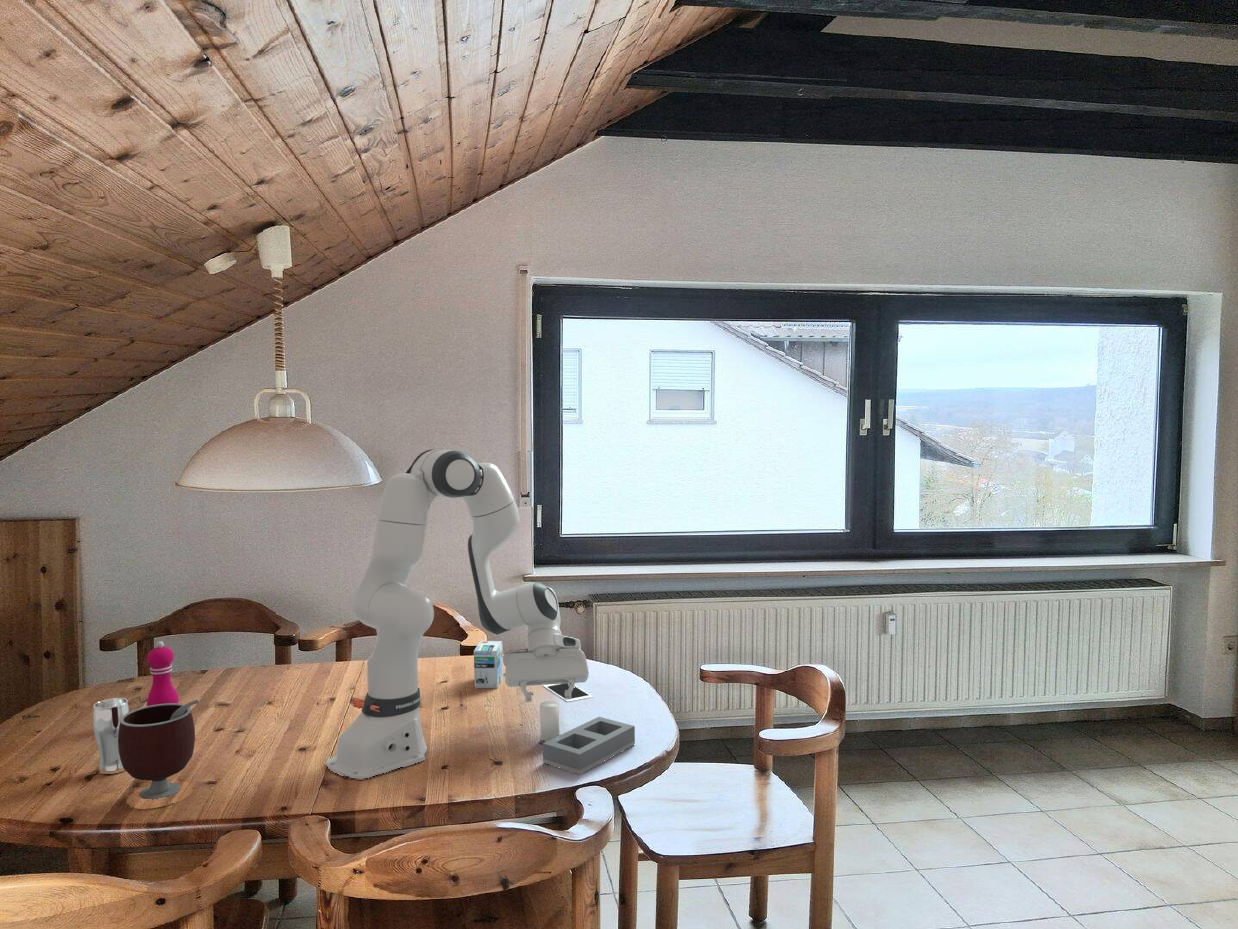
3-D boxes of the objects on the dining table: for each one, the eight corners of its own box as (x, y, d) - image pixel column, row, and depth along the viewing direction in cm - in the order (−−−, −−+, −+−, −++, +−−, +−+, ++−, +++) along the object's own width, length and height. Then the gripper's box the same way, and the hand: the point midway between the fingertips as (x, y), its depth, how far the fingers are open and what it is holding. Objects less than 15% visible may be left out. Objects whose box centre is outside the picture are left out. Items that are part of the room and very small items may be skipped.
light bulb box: (498, 689, 246) (497, 650, 246) (473, 689, 247) (472, 651, 246) (503, 677, 257) (503, 640, 256) (480, 677, 257) (479, 640, 256)
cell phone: (567, 682, 253) (567, 680, 253) (593, 698, 239) (593, 696, 239) (542, 687, 249) (541, 684, 249) (567, 703, 235) (567, 701, 235)
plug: (550, 747, 205) (550, 709, 204) (536, 743, 207) (535, 705, 207) (563, 741, 208) (562, 703, 208) (549, 737, 211) (548, 700, 210)
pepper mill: (151, 725, 221) (147, 646, 220) (144, 718, 227) (140, 641, 225) (183, 718, 226) (179, 641, 224) (174, 711, 231) (171, 635, 230)
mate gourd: (106, 812, 175) (101, 712, 173) (144, 781, 189) (139, 689, 187) (185, 811, 175) (180, 711, 173) (217, 780, 189) (212, 688, 187)
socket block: (580, 775, 189) (579, 754, 189) (543, 763, 196) (542, 743, 195) (634, 745, 205) (634, 726, 205) (599, 735, 212) (598, 716, 211)
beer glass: (108, 763, 199) (104, 697, 197) (139, 763, 198) (135, 697, 197) (88, 776, 192) (85, 708, 190) (120, 776, 191) (116, 708, 190)
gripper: (502, 644, 216) (504, 696, 208) (586, 639, 219) (591, 691, 210) (502, 656, 221) (504, 708, 212) (584, 652, 224) (589, 703, 215)
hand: (548, 699), depth 211 cm, fingers open, 8 cm apart
